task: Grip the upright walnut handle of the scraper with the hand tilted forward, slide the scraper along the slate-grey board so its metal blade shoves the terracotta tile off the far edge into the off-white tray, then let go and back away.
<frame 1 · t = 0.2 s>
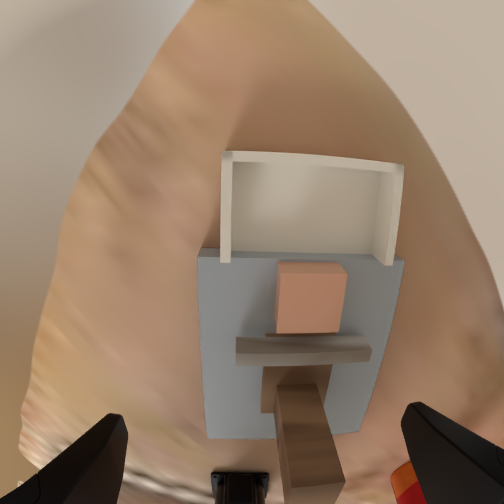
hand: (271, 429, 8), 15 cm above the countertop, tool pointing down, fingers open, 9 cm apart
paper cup: (408, 469, 32), on the countertop
scraper: (293, 392, 23), point 2 cm above the countertop, touching board
tray: (306, 203, 21), on the countertop
board: (292, 352, 25), on the countertop
tile: (305, 291, 21), point 2 cm above the countertop, touching board
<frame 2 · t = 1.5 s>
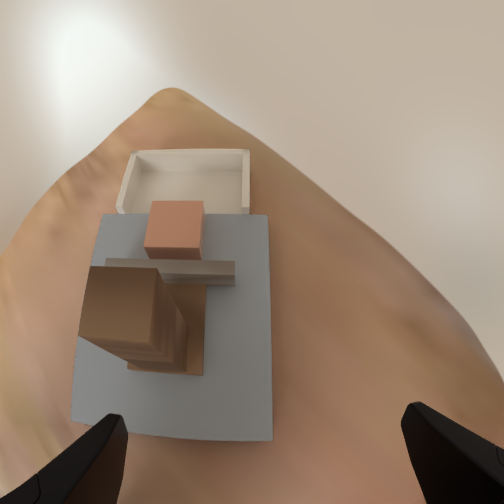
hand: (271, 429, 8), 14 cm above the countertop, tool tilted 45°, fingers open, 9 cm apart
scraper: (167, 350, 20), point 2 cm above the countertop, touching board
tray: (188, 196, 29), on the countertop
board: (174, 323, 23), on the countertop
tile: (178, 236, 24), point 2 cm above the countertop, touching board
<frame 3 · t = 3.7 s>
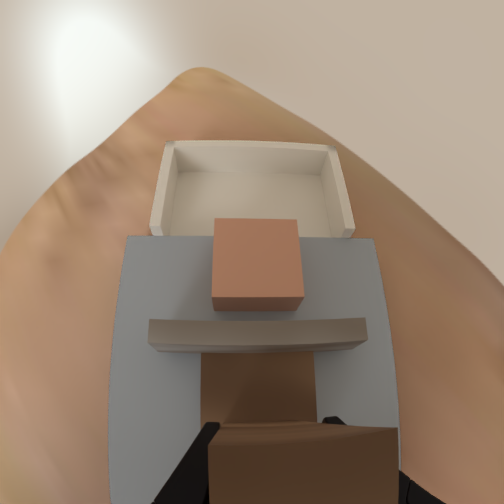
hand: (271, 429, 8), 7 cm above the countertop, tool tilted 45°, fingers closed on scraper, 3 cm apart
scraper: (258, 451, 12), point 2 cm above the countertop, touching board, gripper
tray: (250, 209, 21), on the countertop
board: (254, 401, 15), on the countertop
tile: (254, 273, 16), point 2 cm above the countertop, touching board
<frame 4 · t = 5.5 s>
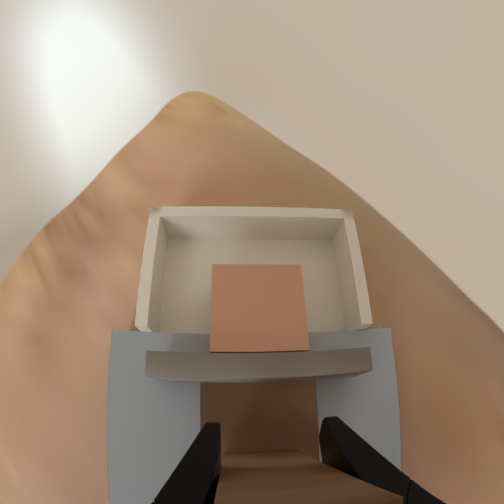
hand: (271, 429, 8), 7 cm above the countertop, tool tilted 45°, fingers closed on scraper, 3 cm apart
scraper: (260, 479, 11), point 2 cm above the countertop, touching board, gripper, tile
tray: (251, 285, 18), on the countertop
board: (256, 496, 13), on the countertop
tile: (255, 321, 15), point 2 cm above the countertop, touching board, scraper
when the fingers open (7 cm above the countertop, at t = 6.4 s): scraper stays where it is, resting on board.
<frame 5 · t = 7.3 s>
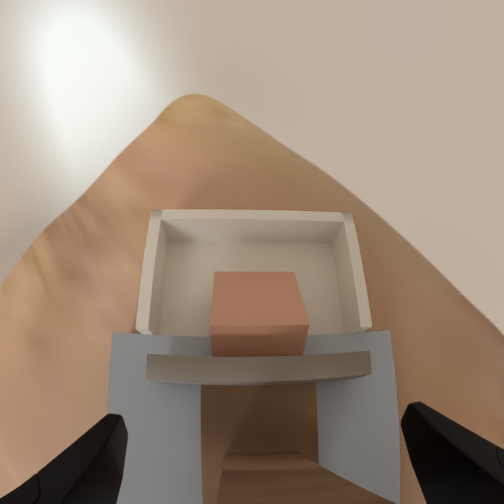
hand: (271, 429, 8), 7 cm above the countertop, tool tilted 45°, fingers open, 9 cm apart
scraper: (259, 480, 12), point 2 cm above the countertop, touching board
tray: (251, 288, 18), on the countertop
board: (256, 497, 13), on the countertop
tile: (255, 328, 15), point 2 cm above the countertop, tilted 33°, touching board, tray
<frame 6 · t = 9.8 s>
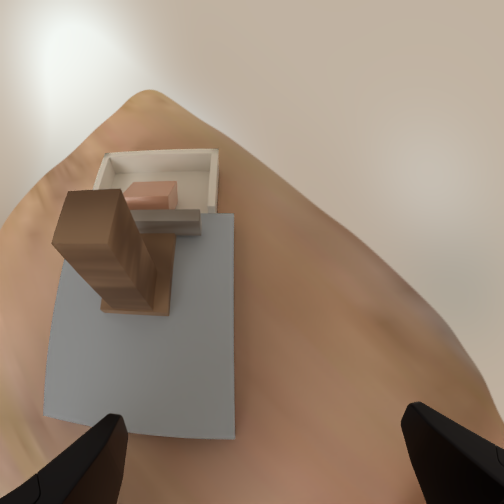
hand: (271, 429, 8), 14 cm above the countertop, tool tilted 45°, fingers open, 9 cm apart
scraper: (137, 293, 22), point 2 cm above the countertop, touching board
tray: (158, 197, 29), on the countertop
board: (142, 321, 23), on the countertop
tile: (151, 211, 26), point 2 cm above the countertop, tilted 33°, touching board, tray
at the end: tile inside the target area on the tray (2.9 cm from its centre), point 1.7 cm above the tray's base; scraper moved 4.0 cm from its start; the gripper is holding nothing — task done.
